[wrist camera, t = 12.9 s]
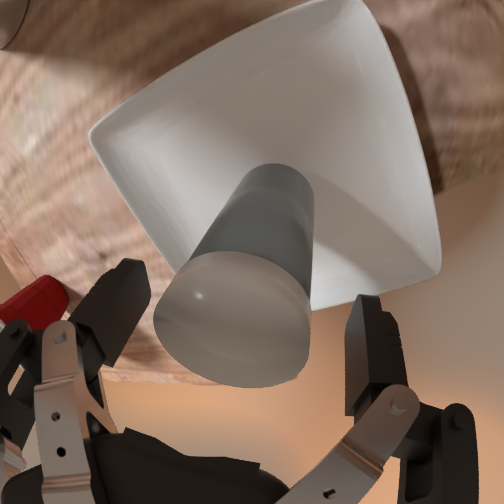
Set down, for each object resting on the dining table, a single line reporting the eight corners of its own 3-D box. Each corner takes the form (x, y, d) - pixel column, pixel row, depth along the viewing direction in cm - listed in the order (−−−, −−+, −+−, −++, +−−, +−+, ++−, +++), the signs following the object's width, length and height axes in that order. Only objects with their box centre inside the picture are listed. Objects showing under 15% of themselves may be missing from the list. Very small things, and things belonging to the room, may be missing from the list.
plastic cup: (37, 244, 31) (-22, 303, 21) (92, 302, 34) (43, 371, 24) (24, 277, 36) (-20, 327, 26) (70, 324, 39) (31, 380, 30)
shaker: (237, 156, 18) (141, 267, 8) (322, 168, 17) (326, 302, 7) (233, 229, 20) (165, 369, 11) (308, 241, 20) (293, 397, 10)
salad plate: (434, 253, 22) (446, 278, 19) (223, 309, 30) (214, 334, 27) (351, -2, 13) (358, -16, 10) (107, 125, 21) (81, 135, 18)
